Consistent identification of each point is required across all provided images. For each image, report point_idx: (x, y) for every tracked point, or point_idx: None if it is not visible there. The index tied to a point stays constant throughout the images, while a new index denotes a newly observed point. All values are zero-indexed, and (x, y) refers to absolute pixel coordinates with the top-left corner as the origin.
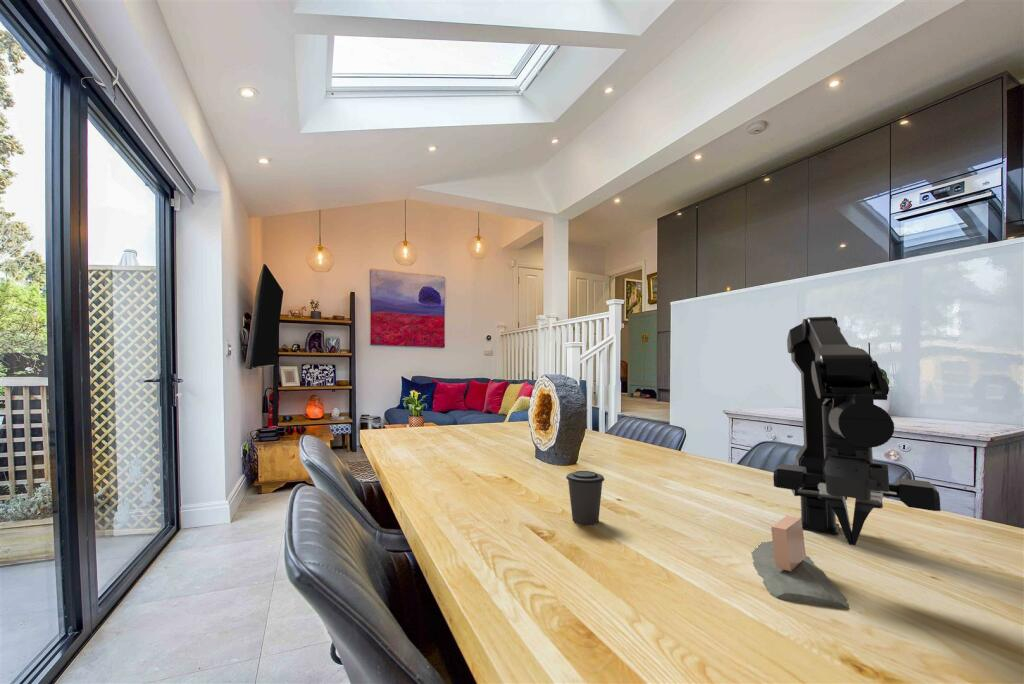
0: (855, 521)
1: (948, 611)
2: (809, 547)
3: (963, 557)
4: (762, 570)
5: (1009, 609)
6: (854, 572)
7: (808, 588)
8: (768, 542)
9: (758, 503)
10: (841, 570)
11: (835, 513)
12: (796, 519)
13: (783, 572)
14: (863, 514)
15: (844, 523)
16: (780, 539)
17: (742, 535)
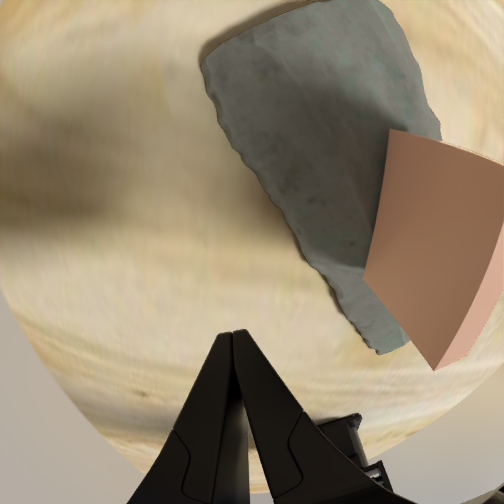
0: (208, 445)
1: (56, 273)
2: (345, 370)
3: (156, 450)
4: (437, 138)
5: (38, 350)
6: (248, 328)
7: (318, 46)
8: None
9: (402, 428)
10: (274, 317)
11: (340, 453)
12: (453, 346)
13: None
14: (155, 500)
15: (272, 411)
16: (486, 157)
17: None
